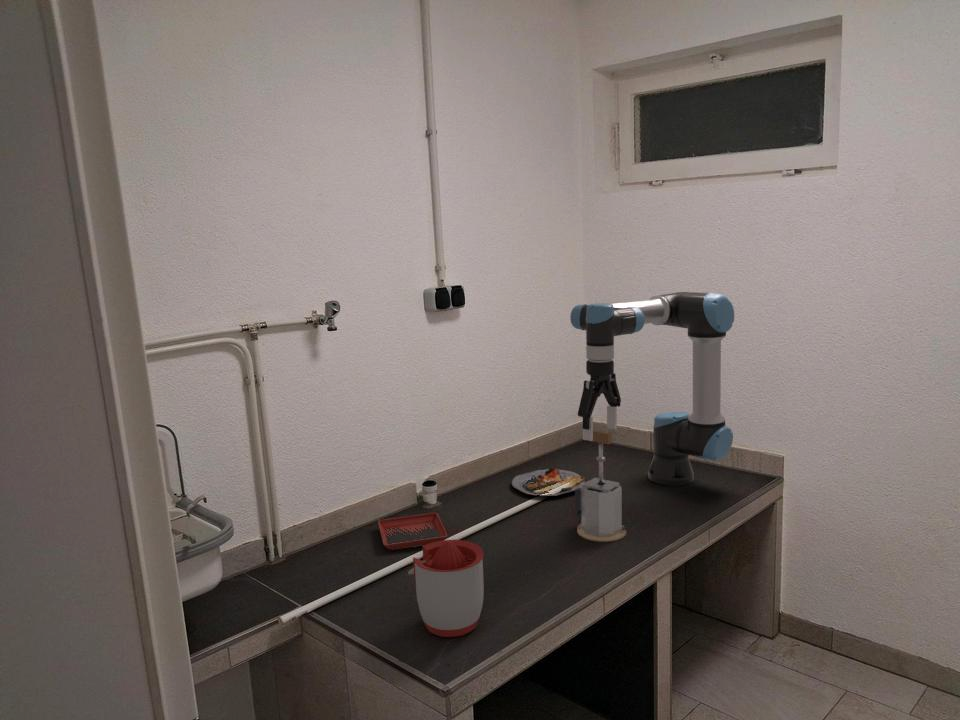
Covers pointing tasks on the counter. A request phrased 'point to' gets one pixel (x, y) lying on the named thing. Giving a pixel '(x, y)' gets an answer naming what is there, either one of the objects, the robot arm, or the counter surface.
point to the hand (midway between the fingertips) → (600, 434)
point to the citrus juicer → (449, 586)
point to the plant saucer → (412, 523)
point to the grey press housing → (600, 511)
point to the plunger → (601, 449)
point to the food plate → (549, 481)
